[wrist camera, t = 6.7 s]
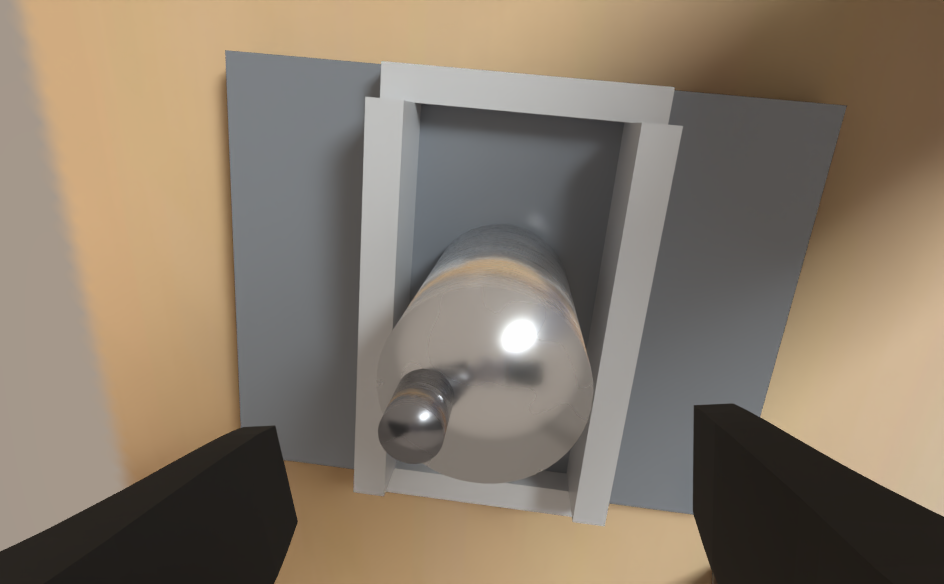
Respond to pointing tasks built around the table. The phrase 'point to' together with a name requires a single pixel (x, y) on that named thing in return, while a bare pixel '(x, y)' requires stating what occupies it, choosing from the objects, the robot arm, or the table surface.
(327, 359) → the grey framed base plate
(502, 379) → the spout can
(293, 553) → the table surface
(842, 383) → the table surface
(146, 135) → the table surface
